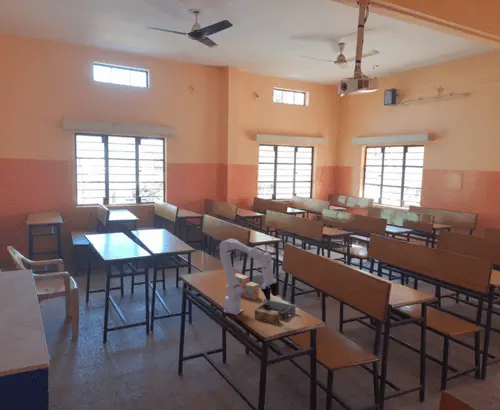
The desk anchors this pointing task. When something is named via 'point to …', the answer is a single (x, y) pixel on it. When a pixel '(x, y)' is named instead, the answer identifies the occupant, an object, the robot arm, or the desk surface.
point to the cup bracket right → (284, 313)
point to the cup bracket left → (265, 307)
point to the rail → (267, 315)
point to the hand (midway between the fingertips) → (271, 297)
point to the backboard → (280, 305)
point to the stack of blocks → (248, 287)
